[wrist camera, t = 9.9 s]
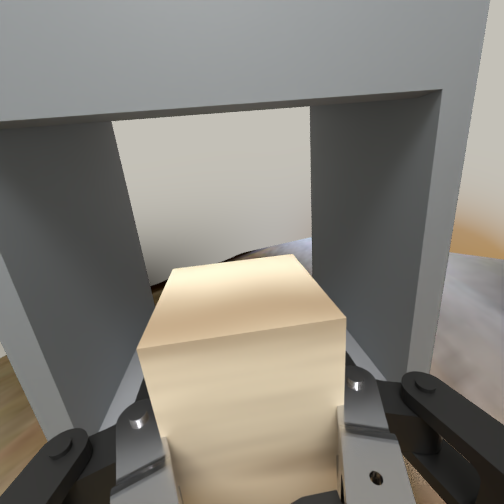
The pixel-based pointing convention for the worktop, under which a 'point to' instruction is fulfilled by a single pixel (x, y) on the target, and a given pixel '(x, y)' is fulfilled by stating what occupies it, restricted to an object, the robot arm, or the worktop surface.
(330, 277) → the box
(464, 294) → the worktop surface
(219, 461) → the maple block
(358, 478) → the robot arm
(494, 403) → the worktop surface
